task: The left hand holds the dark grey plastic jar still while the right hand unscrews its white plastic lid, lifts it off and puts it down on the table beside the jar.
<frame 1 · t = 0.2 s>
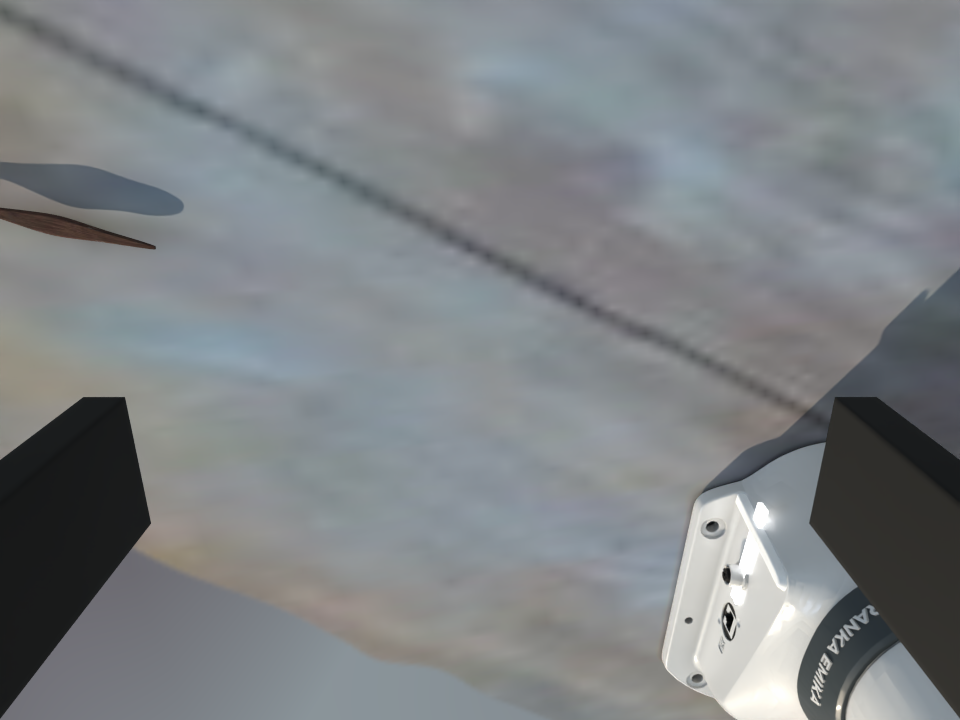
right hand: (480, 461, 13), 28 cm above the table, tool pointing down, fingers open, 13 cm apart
fork: (20, 213, 39), on the table
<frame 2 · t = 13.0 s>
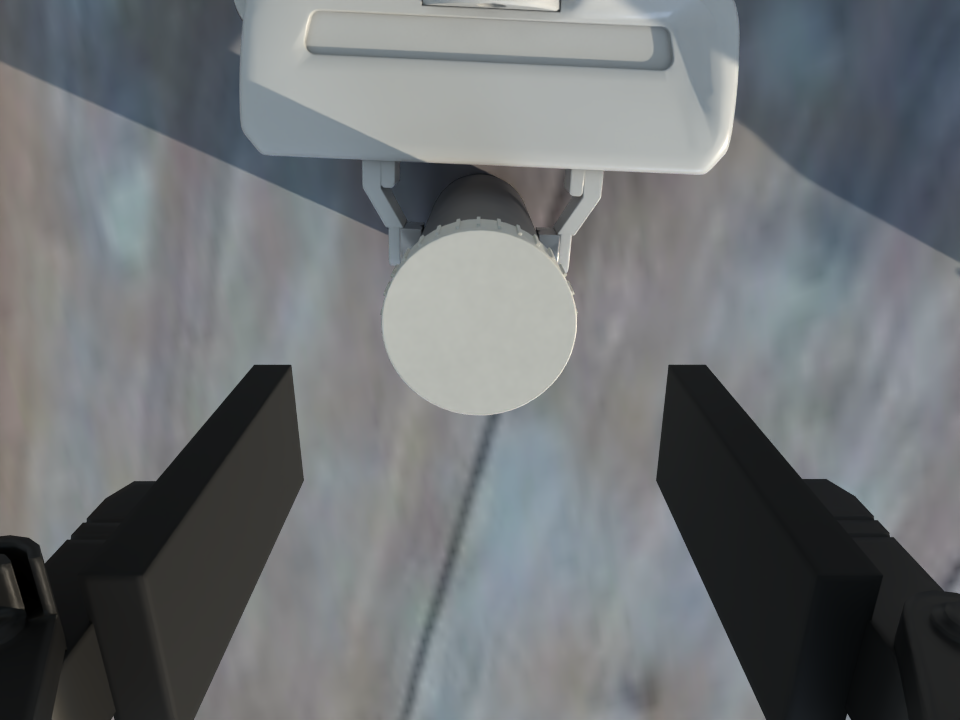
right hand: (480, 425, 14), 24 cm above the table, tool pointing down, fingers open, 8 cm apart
left hand: (479, 266, 31), fingers closed on jar, 5 cm apart
lid: (479, 323, 21), point 17 cm above the table, screwed on, not yet turned
jar: (479, 224, 37), on the table, touching left hand
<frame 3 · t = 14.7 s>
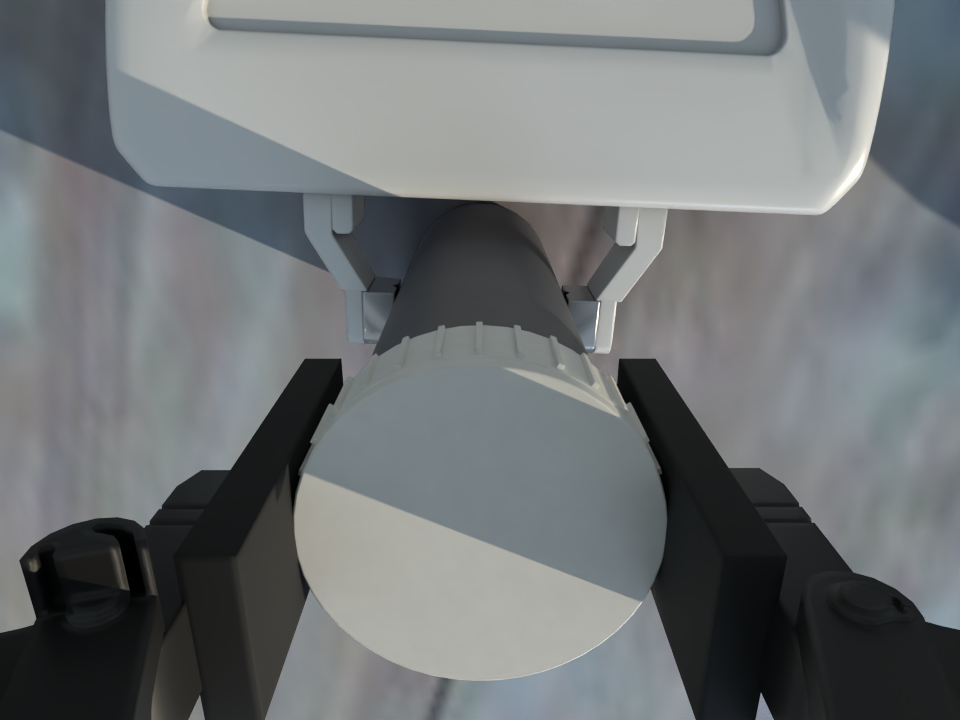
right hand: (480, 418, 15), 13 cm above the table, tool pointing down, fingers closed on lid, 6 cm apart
left hand: (480, 343, 22), fingers closed on jar, 5 cm apart
lid: (480, 525, 11), point 17 cm above the table, screwed on, not yet turned, touching right hand
jar: (480, 269, 27), on the table, touching left hand
when the right hand's fingers open (14 cm above the table, at t = 16.3 s): lid stays where it is, point 18 cm above the table.
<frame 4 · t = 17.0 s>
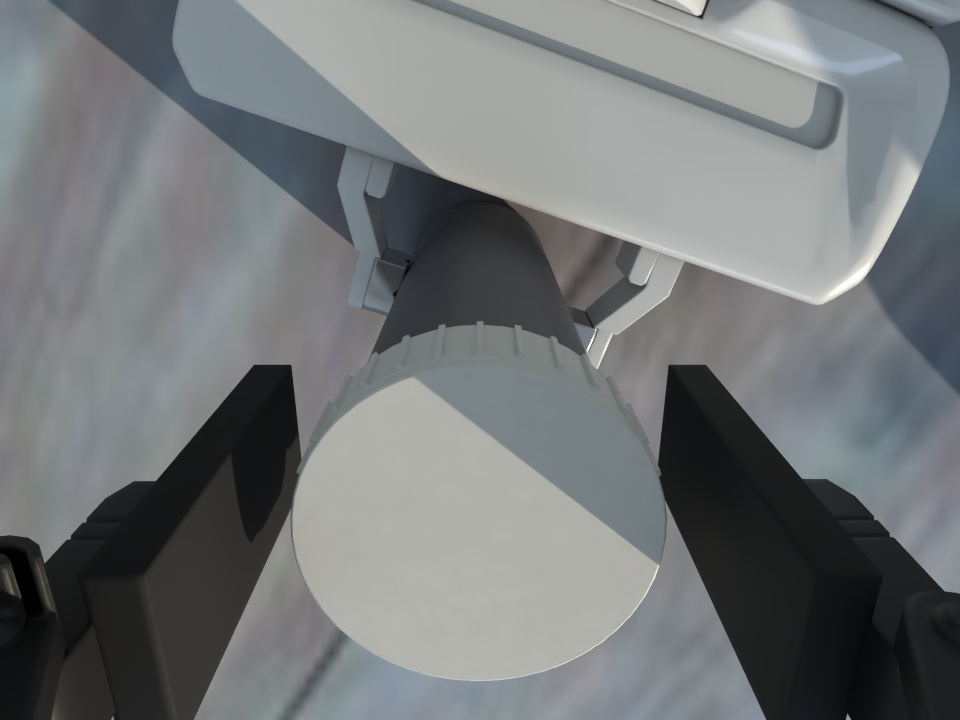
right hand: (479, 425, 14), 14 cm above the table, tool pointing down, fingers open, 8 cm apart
left hand: (472, 338, 22), fingers closed on jar, 5 cm apart
lid: (478, 525, 11), point 18 cm above the table, turned 99° so far, risen 0.4 cm, still on its thread
jar: (479, 267, 27), on the table, touching left hand
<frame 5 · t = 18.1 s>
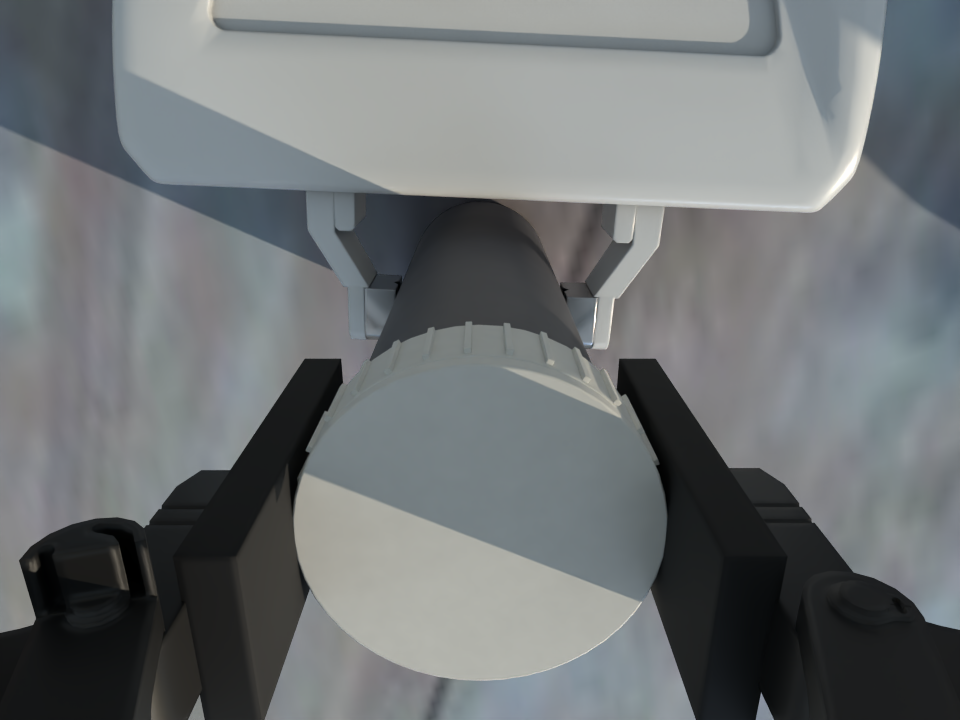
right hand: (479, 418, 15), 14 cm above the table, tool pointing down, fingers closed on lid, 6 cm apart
left hand: (480, 339, 22), fingers closed on jar, 5 cm apart
lid: (479, 525, 11), point 18 cm above the table, turned 99° so far, risen 0.3 cm, still on its thread, touching right hand
jar: (480, 267, 27), on the table, touching left hand
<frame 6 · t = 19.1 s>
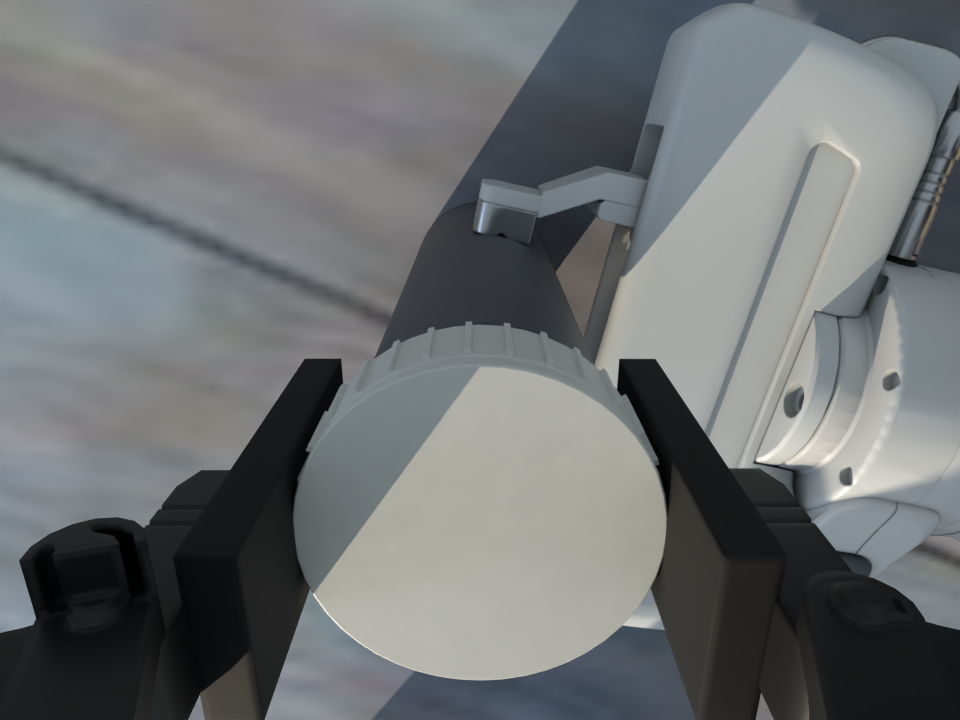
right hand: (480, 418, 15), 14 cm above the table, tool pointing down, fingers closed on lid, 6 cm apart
left hand: (455, 306, 22), fingers closed on jar, 5 cm apart
lid: (480, 525, 11), point 18 cm above the table, off its thread, touching right hand
jar: (482, 266, 28), on the table, touching left hand
when the right hand's fingers open (0 cm above the table, at t = 25.8 s): lid drops 3 cm, point 1 cm above the table.
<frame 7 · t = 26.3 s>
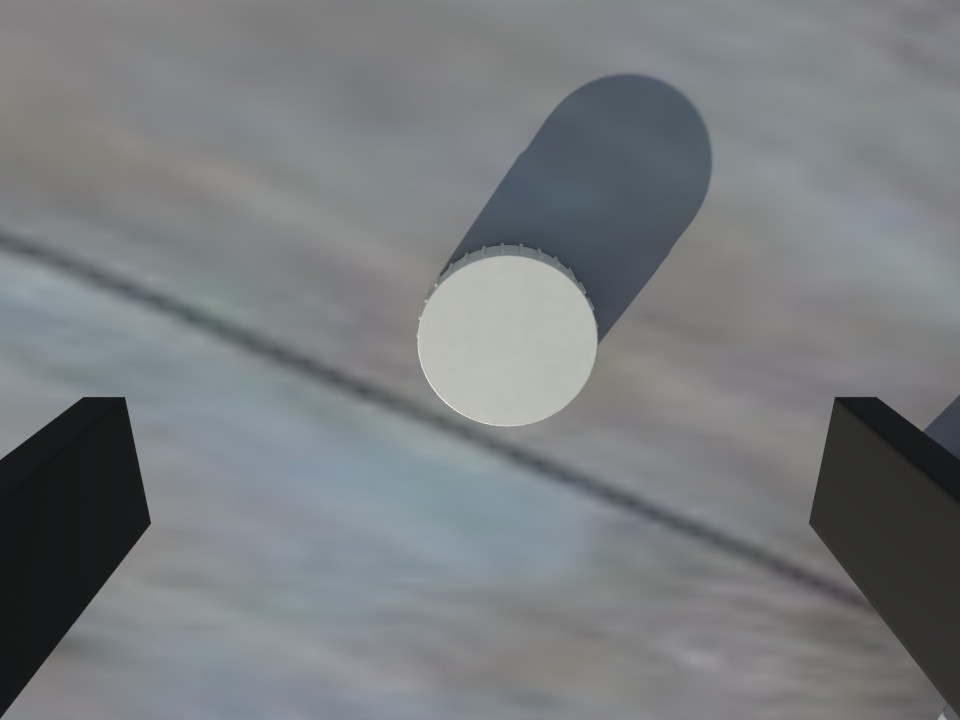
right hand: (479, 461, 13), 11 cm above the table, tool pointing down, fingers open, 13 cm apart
lid: (507, 341, 22), point 1 cm above the table, off its thread
when the left hand's fingers open (6 cm above the table, at t = 26.5 s): jar stays where it is, on the table.
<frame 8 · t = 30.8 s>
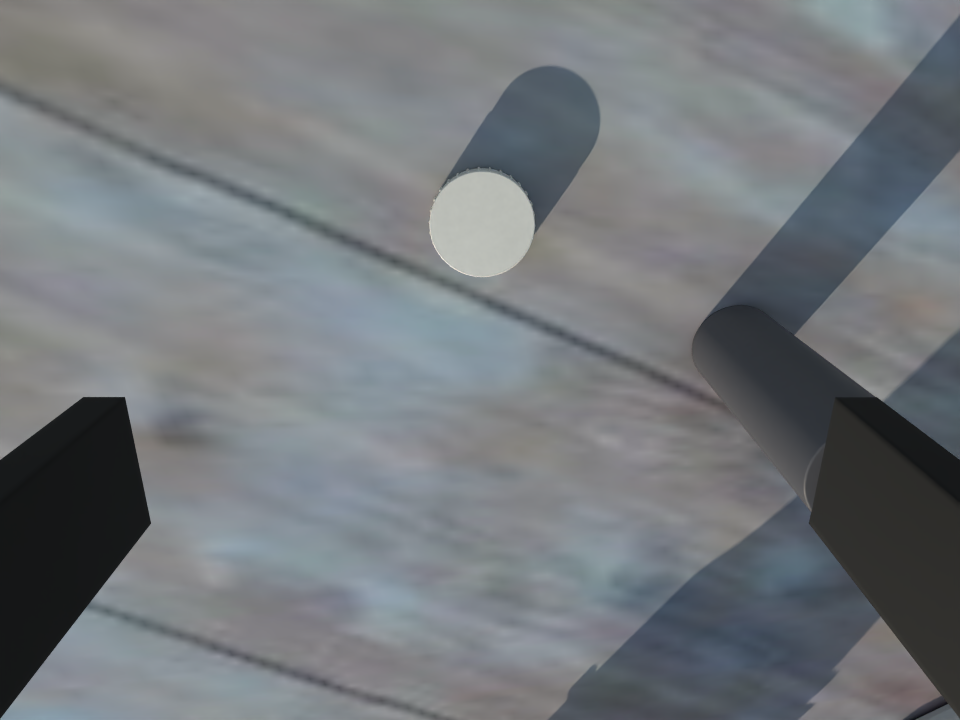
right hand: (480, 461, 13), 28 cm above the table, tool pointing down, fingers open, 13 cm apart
lid: (482, 224, 38), point 1 cm above the table, off its thread
jar: (734, 345, 42), on the table
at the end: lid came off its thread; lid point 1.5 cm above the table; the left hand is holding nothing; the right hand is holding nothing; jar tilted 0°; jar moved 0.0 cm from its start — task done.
